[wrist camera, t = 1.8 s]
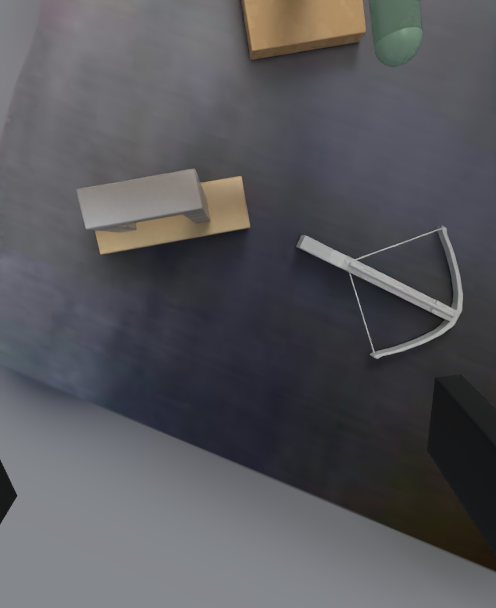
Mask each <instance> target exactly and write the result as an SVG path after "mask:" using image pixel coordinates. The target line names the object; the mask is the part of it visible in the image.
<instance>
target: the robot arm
mask: <svg viewBox="0 0 496 608" xmlns="http://www.w3.org/2000/svg"><path fill="white" fill-rule="evenodd" d="M427 451H428V452H429V454H430V455H431V457H432V459H433V460H434V462H435V463H436V465H437V466H438V468H439V469H440V471H441V473H442V474H443V476H444V477H445V479H446V480H447V482H448V483H449V485H450V487H451V488H452V490H453V491H454V493H455V494H456V496H457V497H458V499H459V501H460V502H461V504H462V505H463V507H464V508H465V510H466V511H467V513H468V515H469V516H470V518H471V519H472V521H473V522H474V524H475V526H476V527H477V529H478V530H479V532H480V533H481V535H482V536H483V538H484V540H485V541H486V543H487V544H488V546H489V547H490V549H491V550H492V552H493V554H494V555H495V557H496V409H495V408H494V407H493V406H492V405H491V404H490V403H489V402H488V401H487V400H486V399H485V398H484V397H483V396H482V395H481V394H480V393H479V392H478V391H477V390H476V389H475V388H474V387H473V386H472V385H471V384H470V383H469V382H468V381H467V380H466V379H465V378H464V377H463V376H462V375H455V376H446V377H437V378H435V384H434V393H433V402H432V411H431V421H430V430H429V439H428V448H427ZM16 497H17V494H16V492H15V490H14V488H13V486H12V484H11V481H10V479H9V477H8V475H7V473H6V471H5V469H4V467H3V465H2V463H1V460H0V524H1V522H2V520H3V519H4V517H5V515H6V514H7V512H8V510H9V509H10V507H11V505H12V504H13V502H14V500H15V499H16Z"/></svg>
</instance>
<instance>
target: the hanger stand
mask: <svg viewBox="0 0 496 608" xmlns="http://www.w3.org/2000/svg"><path fill="white" fill-rule="evenodd" d="M241 4H242V10H243V16H244V22H245V28H246V34H247V40H248V47H249V53H250V59H251V60H254V59H260V58H266V57H272V56H278V55H284V54H290V53H296V52H302V51H308V50H314V49H320V48H325V47H331V46H337V45H343V44H349V43H355V42H360V40H361V39H362V37H363V36H364V34H365V33H366V27H365V18H364V10H363V1H362V0H241ZM369 6H370V15H371V24H372V33H373V42H374V49H375V54H376V56H377V58H378V59H379V61H380V62H381V63H383V64H384V65H386V66H390V67H397V66H401V65H403V64H405V63H407V62H408V61H409V60H411V59H412V58H413V57H414V55H415V54H416V53H417V51H418V49H419V47H420V45H421V41H422V21H421V11H420V0H369Z"/></svg>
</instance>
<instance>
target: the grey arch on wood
mask: <svg viewBox="0 0 496 608" xmlns="http://www.w3.org/2000/svg"><path fill="white" fill-rule="evenodd" d="M76 192H77V196H78V200H79V204H80V208H81V212H82V216H83V220H84V224H85V228H86V229H88V230H95V234H96V238H97V242H98V246H99V251H100V254H111V253H116V252H122V251H127V250H133V249H138V248H144V247H149V246H155V245H160V244H166V243H171V242H177V241H182V240H188V239H193V238H199V237H204V236H210V235H215V234H221V233H227V232H232V231H238V230H243V229H248V228H250V222H249V217H248V211H247V205H246V199H245V194H244V188H243V182H242V177H241V176H237V177H232V178H226V179H220V180H215V181H209V182H203V183H201V182H200V180H199V177H198V175H197V172H196V170H195V169H189V170H183V171H178V172H172V173H166V174H161V175H155V176H149V177H143V178H138V179H132V180H126V181H121V182H115V183H109V184H104V185H98V186H92V187H86V188H81V189H77V190H76Z"/></svg>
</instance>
